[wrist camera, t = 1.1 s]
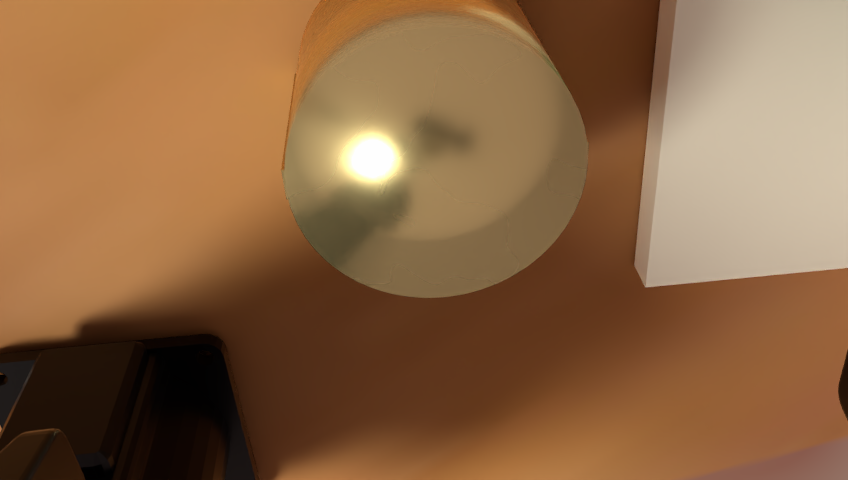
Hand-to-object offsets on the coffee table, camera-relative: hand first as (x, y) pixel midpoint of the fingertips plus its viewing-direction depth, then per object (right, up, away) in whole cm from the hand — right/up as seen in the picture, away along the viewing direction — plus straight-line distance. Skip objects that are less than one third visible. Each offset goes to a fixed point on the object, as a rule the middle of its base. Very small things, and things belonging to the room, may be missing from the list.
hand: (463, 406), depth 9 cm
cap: (-1, +6, +9) cm, 11 cm away
